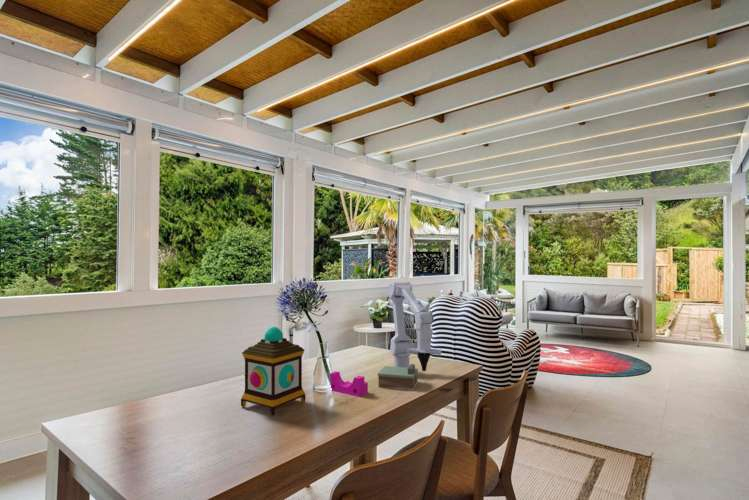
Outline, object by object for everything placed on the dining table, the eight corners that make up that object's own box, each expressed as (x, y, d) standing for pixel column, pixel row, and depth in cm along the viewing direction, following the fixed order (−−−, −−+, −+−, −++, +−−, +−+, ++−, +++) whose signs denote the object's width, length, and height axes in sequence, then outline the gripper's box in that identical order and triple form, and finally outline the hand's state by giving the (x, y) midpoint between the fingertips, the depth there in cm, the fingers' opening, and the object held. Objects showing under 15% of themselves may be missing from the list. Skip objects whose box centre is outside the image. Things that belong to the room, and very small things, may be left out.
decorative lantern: (272, 419, 149) (272, 333, 149) (235, 408, 160) (235, 327, 160) (310, 402, 166) (310, 325, 166) (274, 393, 176) (274, 320, 177)
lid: (384, 368, 196) (384, 360, 196) (418, 370, 192) (418, 363, 192) (377, 375, 184) (377, 367, 184) (413, 378, 180) (413, 370, 180)
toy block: (367, 393, 177) (367, 375, 177) (359, 397, 172) (359, 378, 172) (339, 387, 185) (339, 369, 185) (330, 390, 180) (330, 373, 180)
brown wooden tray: (385, 379, 196) (385, 368, 196) (417, 382, 192) (417, 370, 192) (378, 387, 184) (378, 375, 184) (412, 390, 180) (412, 378, 180)
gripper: (406, 340, 183) (406, 371, 183) (439, 341, 179) (440, 374, 179) (408, 337, 190) (409, 367, 190) (441, 338, 186) (441, 369, 186)
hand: (424, 370), depth 185 cm, fingers closed
